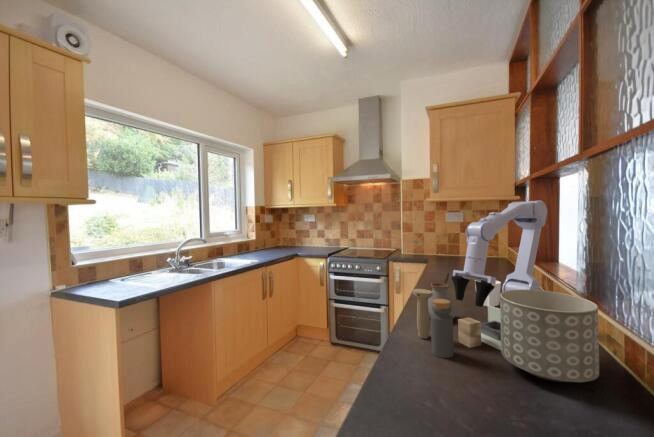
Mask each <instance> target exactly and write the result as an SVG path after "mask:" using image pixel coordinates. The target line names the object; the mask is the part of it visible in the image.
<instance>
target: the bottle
mask: <svg viewBox="0 0 654 437" xmlns="http://www.w3.org/2000/svg"><path fill="white" fill-rule="evenodd" d="M433 304H434V305H433V306H432V310H433V311H434V313H433V314H432V315H431V319H430V329H431V330H430V331H431V332H430V333H431V334H430V337H431V339H430V340H431V353H432V354H433V355H434V356H436V357H438V358H443V359H450V358H452V357H454V354H455V353H454V352H455V351H454V348H455V347H454V346H455V345H454V318H453V317H452V316H451V315H449V313H450V312H451V307H450V301H449V300H446V299H434V300H433Z"/></svg>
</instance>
